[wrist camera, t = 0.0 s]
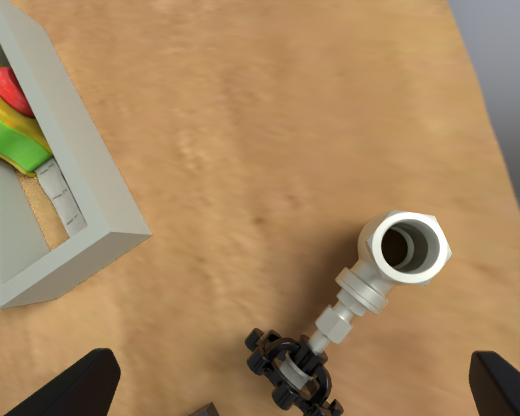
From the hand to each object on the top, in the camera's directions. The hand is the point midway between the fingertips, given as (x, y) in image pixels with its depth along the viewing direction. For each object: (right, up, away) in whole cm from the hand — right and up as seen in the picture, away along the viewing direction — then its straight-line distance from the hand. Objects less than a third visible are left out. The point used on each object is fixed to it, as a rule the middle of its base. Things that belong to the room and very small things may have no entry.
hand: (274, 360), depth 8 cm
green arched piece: (-18, +8, +21) cm, 29 cm away
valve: (+6, -2, +14) cm, 15 cm away
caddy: (-18, +8, +20) cm, 28 cm away
